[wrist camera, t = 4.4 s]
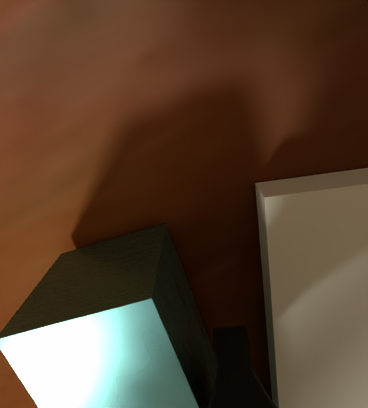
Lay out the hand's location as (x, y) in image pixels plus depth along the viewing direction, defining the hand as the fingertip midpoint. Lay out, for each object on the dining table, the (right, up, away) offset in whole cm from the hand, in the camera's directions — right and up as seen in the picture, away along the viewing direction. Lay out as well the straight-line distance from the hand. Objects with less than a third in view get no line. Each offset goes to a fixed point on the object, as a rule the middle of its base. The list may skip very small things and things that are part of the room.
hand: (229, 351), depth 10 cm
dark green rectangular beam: (-2, -3, +4) cm, 5 cm away
